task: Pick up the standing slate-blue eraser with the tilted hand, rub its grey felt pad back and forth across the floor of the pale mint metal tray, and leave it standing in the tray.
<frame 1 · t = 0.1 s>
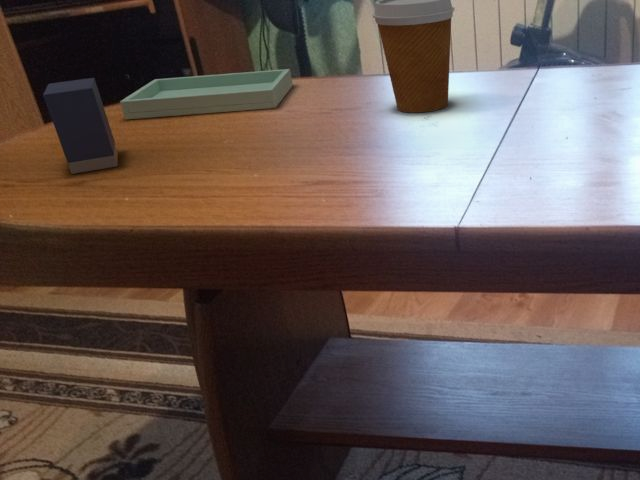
eraser: (95, 162, 79), on the table
tray: (213, 101, 101), on the table
disposable coffee cup: (422, 107, 90), on the table
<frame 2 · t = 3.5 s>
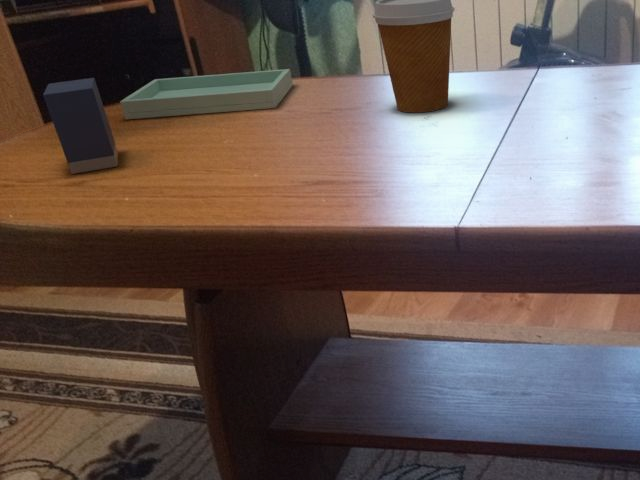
hand: (53, 4, 80), 15 cm above the table, tool tilted 45°, fingers open, 8 cm apart
nothing on the table moved.
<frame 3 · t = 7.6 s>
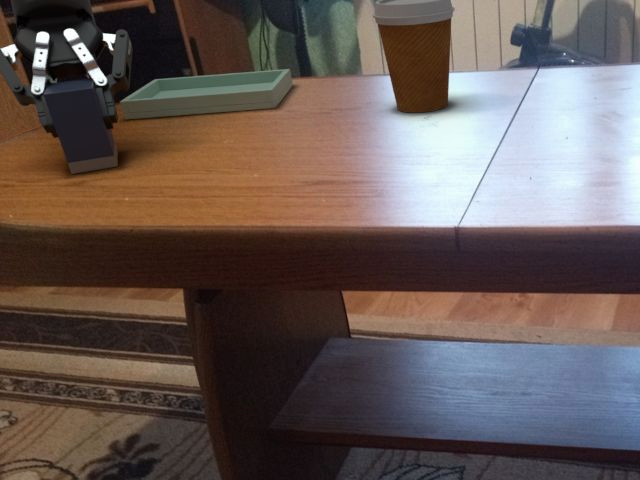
hand: (81, 128, 75), 4 cm above the table, tool tilted 45°, fingers closed on eraser, 4 cm apart
eraser: (95, 162, 79), on the table, touching gripper
everything else where it was.
when the fingers open (5 cm above the table, at t = 22.1 s): eraser stays where it is, resting on tray.
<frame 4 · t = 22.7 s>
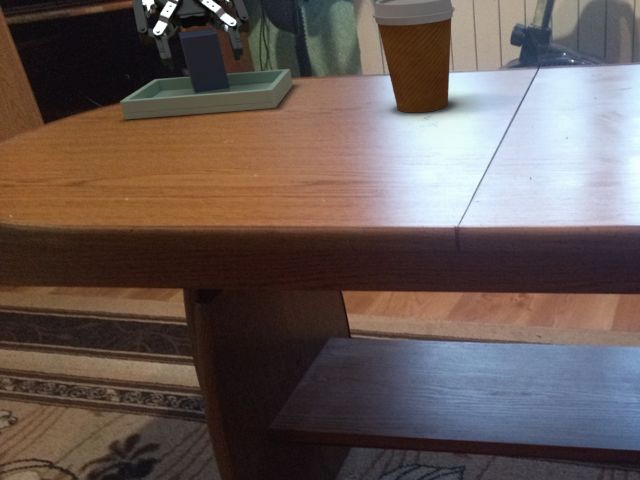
hand: (204, 60, 97), 5 cm above the table, tool tilted 45°, fingers open, 8 cm apart
eraser: (212, 95, 100), point 1 cm above the table, touching tray
everything else where it was.
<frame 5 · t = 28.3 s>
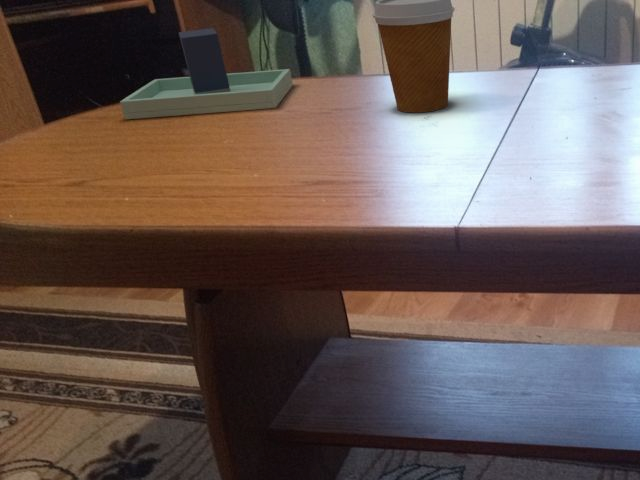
nothing on the table moved.
at the end: eraser inside the target area in the tray (0.1 cm from its centre), point 0.8 cm above the tray's base; eraser moved 26.7 cm from its start; eraser tilted 0° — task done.
